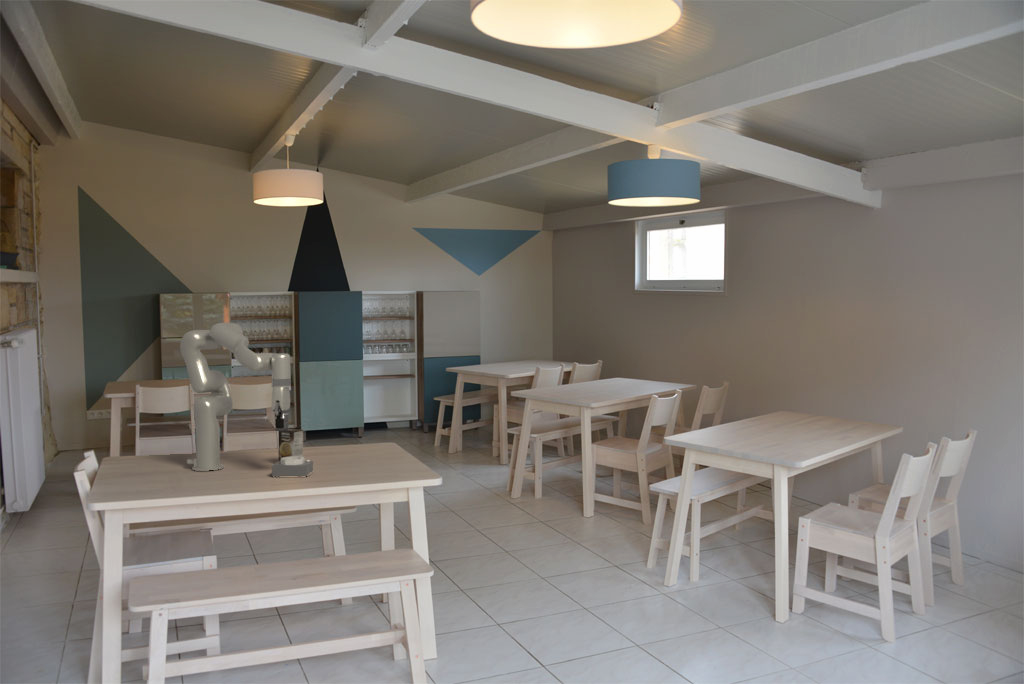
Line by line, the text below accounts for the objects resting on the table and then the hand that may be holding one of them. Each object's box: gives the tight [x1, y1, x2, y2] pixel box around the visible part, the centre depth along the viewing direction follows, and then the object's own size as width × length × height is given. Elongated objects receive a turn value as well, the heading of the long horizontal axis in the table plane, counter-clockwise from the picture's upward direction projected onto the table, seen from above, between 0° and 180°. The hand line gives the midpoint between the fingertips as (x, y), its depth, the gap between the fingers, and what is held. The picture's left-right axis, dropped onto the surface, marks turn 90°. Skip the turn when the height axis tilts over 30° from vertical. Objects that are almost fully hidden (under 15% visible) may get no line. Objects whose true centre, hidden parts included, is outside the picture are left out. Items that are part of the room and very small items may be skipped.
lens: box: [275, 410, 289, 432], centre depth 313 cm, size 5×5×8 cm
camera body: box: [271, 456, 314, 477], centre depth 314 cm, size 14×10×7 cm
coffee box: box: [278, 427, 304, 461], centre depth 335 cm, size 9×6×16 cm
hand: (282, 426), depth 313 cm, fingers closed on lens, 5 cm apart
